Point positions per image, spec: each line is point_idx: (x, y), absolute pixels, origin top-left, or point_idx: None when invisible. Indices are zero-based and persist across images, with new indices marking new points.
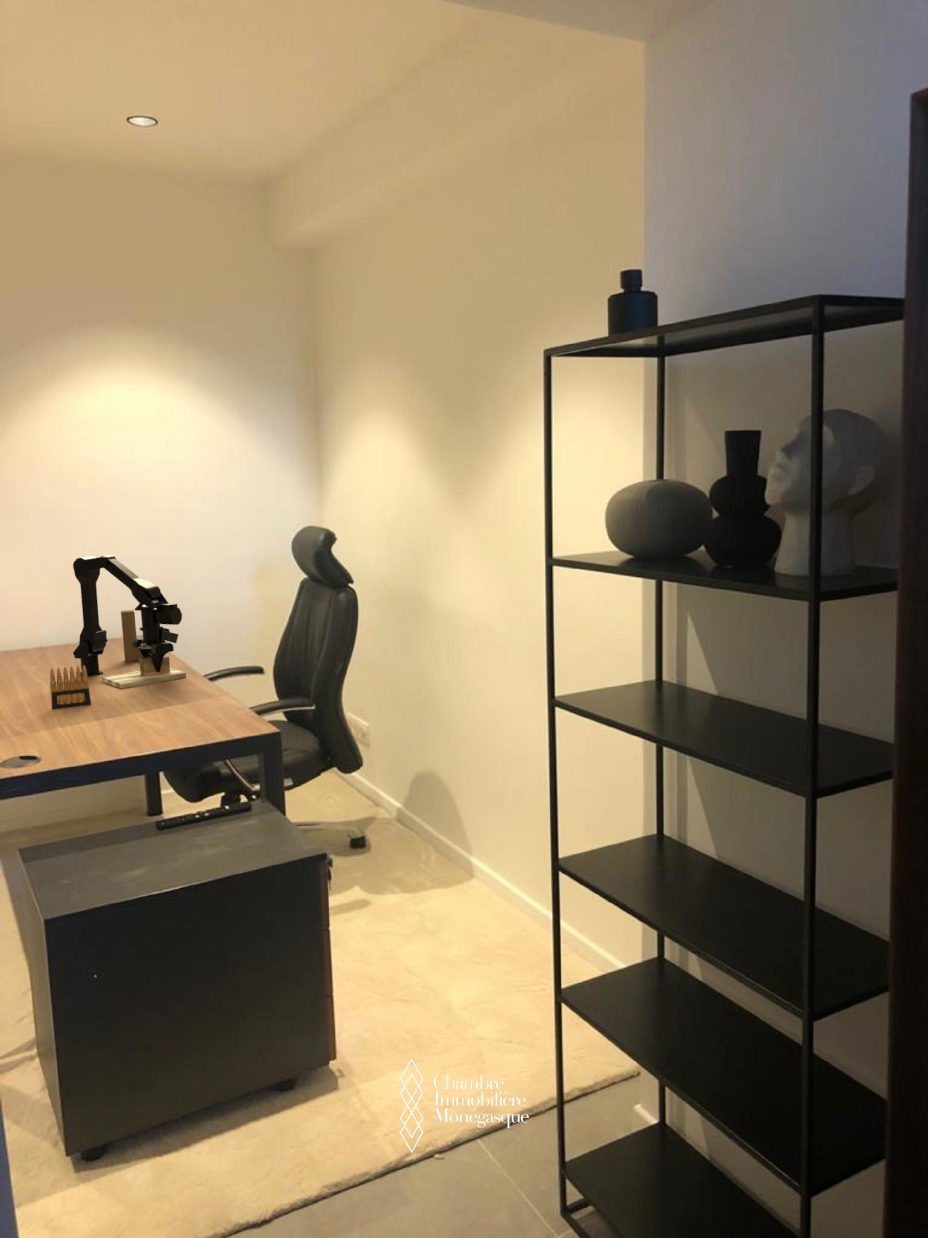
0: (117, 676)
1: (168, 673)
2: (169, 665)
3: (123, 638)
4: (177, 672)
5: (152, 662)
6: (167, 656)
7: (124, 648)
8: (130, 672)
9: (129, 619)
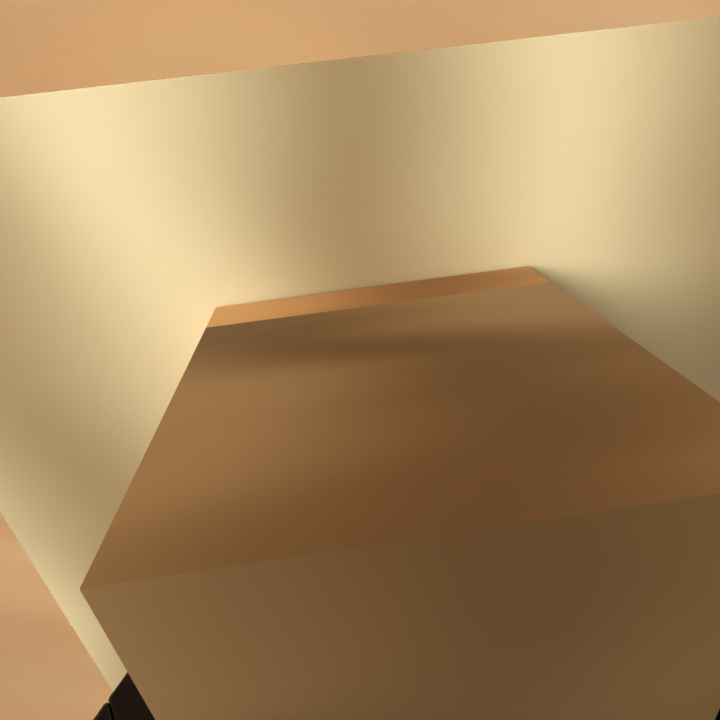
0: None
1: (621, 331)
2: (598, 321)
3: None
4: (707, 159)
5: None
6: (682, 508)
7: None
8: (114, 684)
9: None
